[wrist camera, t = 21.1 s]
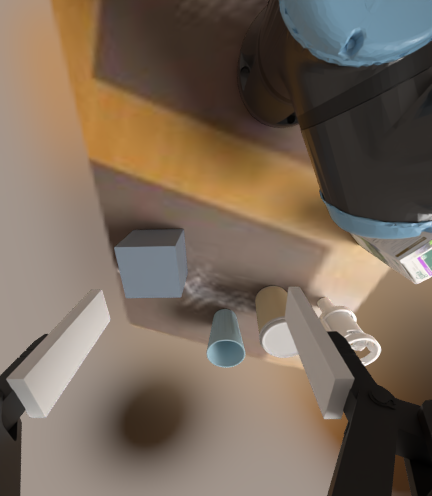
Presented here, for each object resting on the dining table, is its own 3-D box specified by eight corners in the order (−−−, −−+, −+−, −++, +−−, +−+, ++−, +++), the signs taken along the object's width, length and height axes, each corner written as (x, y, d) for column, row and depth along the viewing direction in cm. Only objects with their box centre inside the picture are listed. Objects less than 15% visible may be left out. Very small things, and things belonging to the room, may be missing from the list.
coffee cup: (247, 312, 52) (255, 355, 41) (256, 279, 48) (267, 317, 37) (285, 317, 52) (303, 361, 41) (297, 285, 48) (320, 324, 37)
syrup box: (385, 227, 42) (460, 260, 29) (358, 246, 44) (418, 286, 31) (370, 207, 41) (442, 232, 28) (343, 228, 43) (398, 261, 29)
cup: (243, 327, 53) (248, 364, 44) (213, 332, 54) (211, 370, 45) (237, 302, 50) (241, 337, 41) (205, 308, 51) (202, 343, 42)
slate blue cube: (133, 230, 44) (114, 247, 36) (183, 228, 43) (175, 246, 35) (142, 273, 48) (126, 298, 40) (187, 273, 47) (181, 297, 39)
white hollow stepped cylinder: (304, 313, 51) (335, 371, 38) (313, 288, 48) (350, 341, 35) (333, 316, 51) (375, 375, 38) (344, 291, 49) (393, 346, 35)
